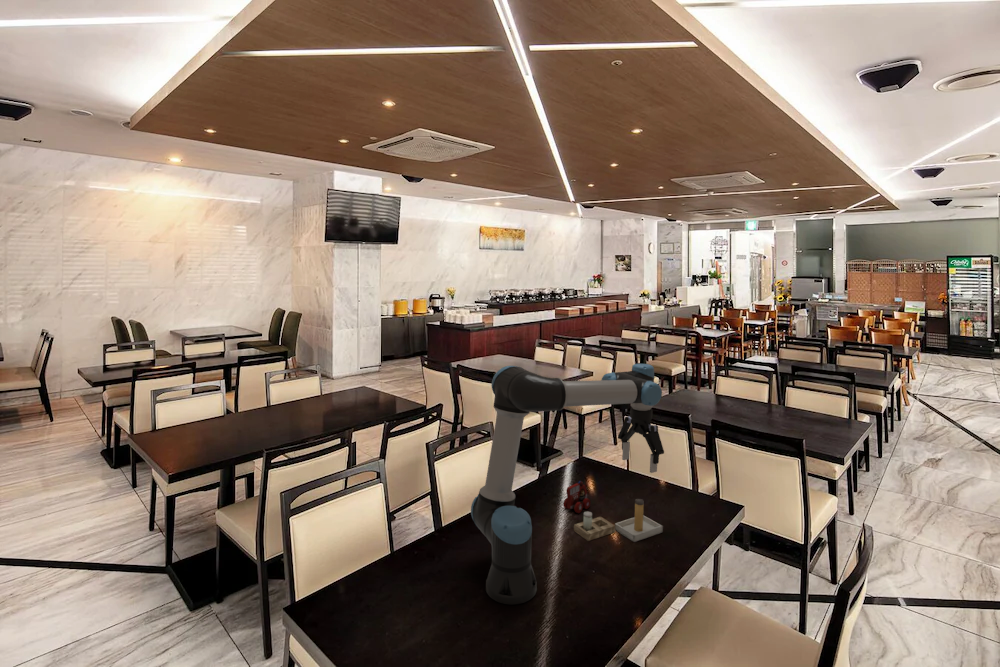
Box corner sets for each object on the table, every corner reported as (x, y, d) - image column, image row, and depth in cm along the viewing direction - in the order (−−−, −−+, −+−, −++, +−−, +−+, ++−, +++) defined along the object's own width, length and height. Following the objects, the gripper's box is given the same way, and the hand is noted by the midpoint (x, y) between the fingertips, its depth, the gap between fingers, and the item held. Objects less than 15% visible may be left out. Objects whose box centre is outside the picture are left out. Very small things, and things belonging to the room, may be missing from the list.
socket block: (588, 541, 181) (588, 534, 181) (573, 531, 188) (574, 524, 188) (615, 532, 188) (615, 525, 187) (600, 522, 194) (600, 516, 194)
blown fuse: (637, 532, 186) (639, 503, 185) (632, 528, 189) (633, 499, 188) (644, 530, 188) (645, 501, 186) (638, 526, 190) (639, 498, 189)
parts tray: (634, 542, 181) (634, 535, 180) (614, 529, 189) (614, 523, 189) (662, 532, 188) (662, 525, 187) (642, 520, 196) (642, 514, 196)
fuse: (586, 536, 184) (587, 516, 183) (581, 533, 187) (582, 512, 186) (593, 534, 186) (593, 514, 185) (588, 531, 188) (588, 510, 187)
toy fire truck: (593, 506, 208) (594, 481, 207) (574, 516, 200) (575, 490, 198) (579, 500, 213) (579, 476, 212) (560, 510, 205) (561, 485, 203)
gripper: (676, 415, 174) (673, 475, 177) (624, 398, 195) (622, 452, 198) (660, 418, 170) (657, 479, 173) (609, 401, 192) (607, 456, 194)
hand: (639, 465), depth 185 cm, fingers open, 13 cm apart
